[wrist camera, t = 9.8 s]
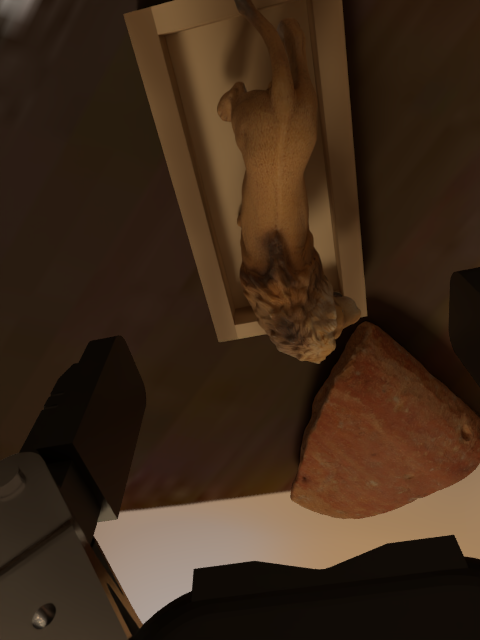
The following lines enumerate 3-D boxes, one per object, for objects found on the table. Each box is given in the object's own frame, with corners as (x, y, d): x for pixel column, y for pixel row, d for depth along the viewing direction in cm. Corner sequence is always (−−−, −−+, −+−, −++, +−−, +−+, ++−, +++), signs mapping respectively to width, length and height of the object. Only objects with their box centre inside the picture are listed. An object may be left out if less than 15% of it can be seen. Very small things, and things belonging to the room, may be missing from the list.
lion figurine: (334, 255, 27) (377, 366, 21) (250, 276, 28) (265, 390, 21) (292, -43, 17) (348, -15, 11) (165, 0, 18) (143, 52, 12)
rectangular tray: (220, 318, 30) (218, 342, 27) (136, 18, 21) (123, 14, 19) (357, 293, 29) (367, 316, 26) (327, -34, 20) (338, -45, 18)
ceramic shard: (218, 477, 31) (384, 328, 27) (222, 424, 37) (358, 297, 33) (362, 585, 34) (528, 467, 30) (343, 520, 40) (480, 415, 36)
